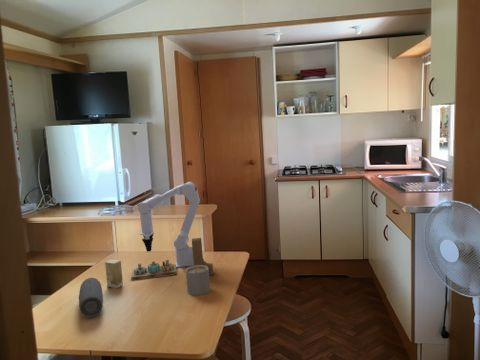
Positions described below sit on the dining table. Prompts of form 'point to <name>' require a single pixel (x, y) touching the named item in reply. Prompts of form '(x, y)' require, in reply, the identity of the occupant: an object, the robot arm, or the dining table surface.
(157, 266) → the teal gear
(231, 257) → the dining table surface
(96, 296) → the bluetooth speaker
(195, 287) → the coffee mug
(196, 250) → the wooden block
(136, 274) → the gear board
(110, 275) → the skincare box
